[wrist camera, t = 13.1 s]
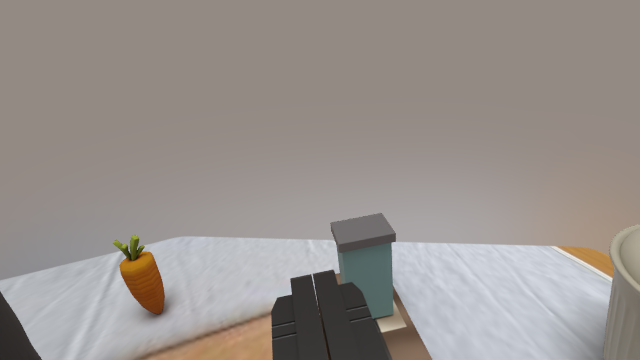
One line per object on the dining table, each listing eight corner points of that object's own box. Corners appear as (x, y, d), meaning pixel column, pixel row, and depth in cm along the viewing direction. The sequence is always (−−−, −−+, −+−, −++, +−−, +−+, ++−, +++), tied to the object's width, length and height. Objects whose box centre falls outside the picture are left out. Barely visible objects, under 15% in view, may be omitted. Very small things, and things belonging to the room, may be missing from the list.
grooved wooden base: (488, 486, 28) (491, 470, 27) (380, 517, 27) (379, 503, 26) (382, 276, 54) (381, 263, 53) (324, 288, 53) (322, 276, 52)
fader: (397, 315, 42) (395, 233, 37) (347, 326, 42) (338, 244, 36) (385, 290, 47) (381, 213, 41) (340, 300, 46) (330, 222, 41)
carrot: (136, 318, 51) (99, 242, 45) (164, 297, 55) (132, 225, 49) (154, 330, 49) (116, 251, 43) (181, 307, 53) (150, 231, 46)
